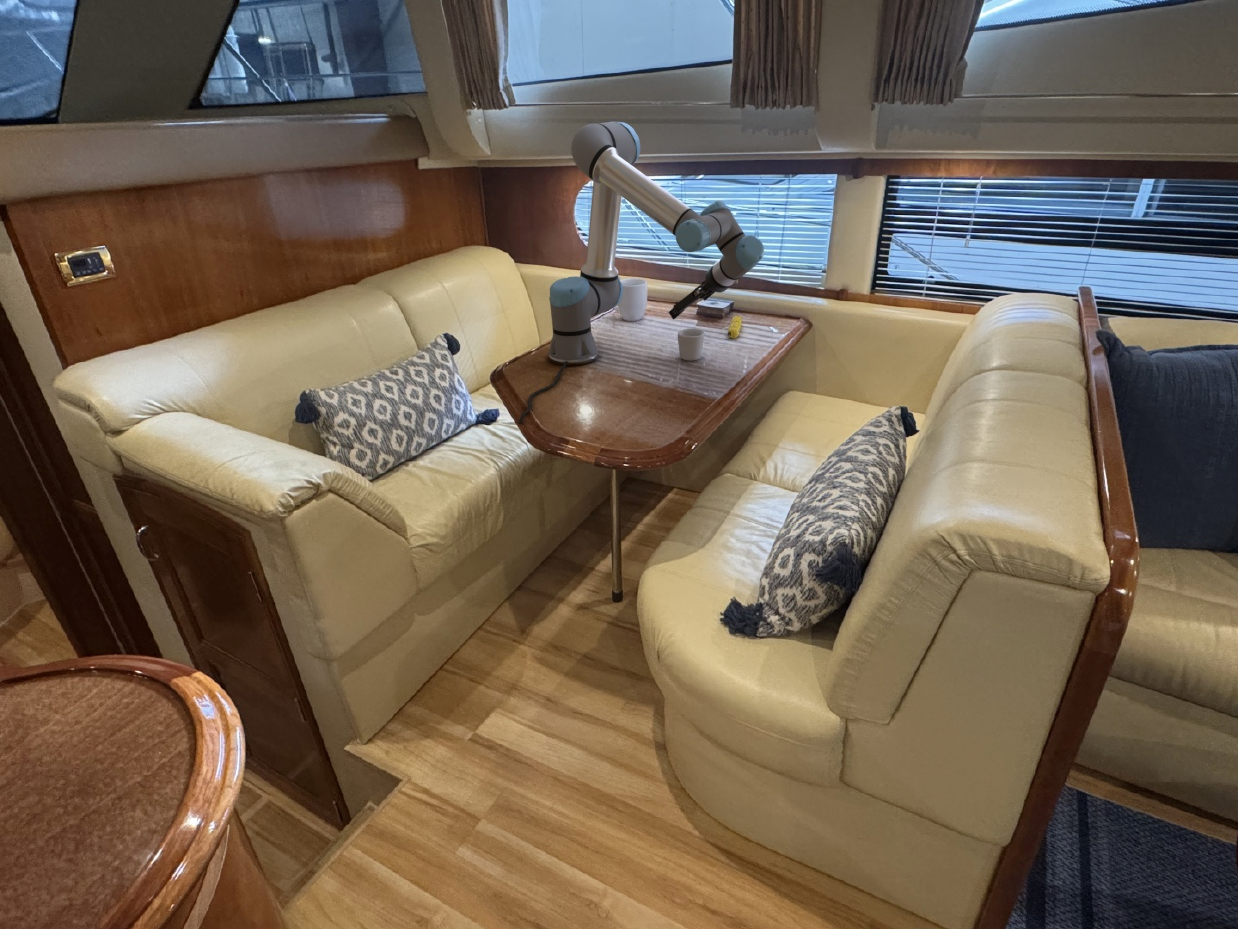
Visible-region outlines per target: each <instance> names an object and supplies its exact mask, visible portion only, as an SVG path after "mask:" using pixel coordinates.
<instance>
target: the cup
mask: <svg viewBox="0 0 1238 929" xmlns="http://www.w3.org/2000/svg"><path fill="white" fill-rule="evenodd" d="M677 341H678V342H677V343H678V353H679V357H680V358H681V359H682V360H683V361H687V362H688V361H691V362H693V361H697V360H699V359H701V357H702V354H703V349H704V341H705V331H703V330H702V329H699V328H685V329H680V330H679V331H678V332H677Z"/></svg>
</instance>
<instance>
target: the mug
mask: <svg viewBox="0 0 1238 929" xmlns="http://www.w3.org/2000/svg"><path fill="white" fill-rule="evenodd" d="M620 282H622V285H623V295H622V298H621V300H620V302H619V303H618V304H617V307H616V306H615V307H613V308H612V309H611V310H614V311H615V312H619V314H620V316H621V317H622V319H623V320H624V321H627V322H635V321H640V320H642V319H643V317H644V315H645V313H646V310H647V306H648V281H647V280H646V279H644V278H636V277H633V278H632V277H631V278H623V279H620Z"/></svg>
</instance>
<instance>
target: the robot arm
mask: <svg viewBox="0 0 1238 929" xmlns="http://www.w3.org/2000/svg"><path fill="white" fill-rule="evenodd" d="M570 146H571V147H570V148H571V156H572V160H573V162H574V164H575V165H576V167H577V169H578V170H580V172H582V174H584V175H585V176H586V177H588V178H589V179H590V180H592V181H593V182H592V193H591V205H590V214H589V215H590V216H589V217H590V218H589V227H588V229H589V230H588V238H587V250H586V261H585V263H584V264H583V265H582V266H581V267H580V272H579V276H578V275H577V276H576V275H575V276H574V275H573V276H567V277H563V278H560V279H557V280H555V281H554V282H553V283H552V284H551V285H550V287H549V296H548V299H549V306H550V316H551V317H550V318H551V325H552V326H551V327H552V337H551V340H550V346H549V350H548V359H549V361H550V362H551V363H553V364H556V365H559V366H561V368H560V369H559V371H558V373H557V375H556V376H555V378H554V381H553V382H551V384H549V385H547V386H545V387H543V388H541V389H539V390H535V392H533V393H532V394H530V396H529V397H528V399H527V404H528V405H527V409H526V410H525V411H523V412H522V413H521V415H520V417H519V421H518V424H519V425H522V424H523V420H524V417H525V415H527V414H528V413H530V411H531V408H532V399H533V398H534V397H535V396H536V395H538V394H540V393H542V392H545V391H547V390H549V389H551V388H553V387H554V386H555V385H556V384H557V382H558V380H560V379H559V378H560V376H561V374H562V373H563V371H564V369H565V367H566V366H568V367H569V366H571V367H573V366H574V367H575V366H582V365H587V364H590V363H593V362H594V361H596V360H598V359H599V348H598V346H597V342H596V341H595V338H594V335H593V333H592V324H591V322H592V320H591V318H594V317H596V316H598V315H601V314H602V313H606V312H609V311H611V310H613V309H612V308H613V307H616V306H618V303H619V302H620V300H621V298H622V295H623V285H622V282H620V280H621V278H620V277H619V276H620V275H619V270H618V269H617V268H616V266H615V262H616V253H617V244H618V237H619V226H620V218H621V211H622V210H621V208H622V199H624V200H626V201H627V202H628V203H630V204H631V205H632V206H634V207H635V208H636V209H637V210H639V211H641V212H642V213H643V214H644V215H646V216H647V217H648V218H650V219H651V220H653V221H654V222H656V223H657V224H658V225H660V226H661V227H662V228H664V229H665V230H666V231H668V232H669V233H670V234H672V235H673V236H675V241H676V243H677V246H678V248H680V249H681V250H682V251H684V252H686V253H695V252H699V251H700V252H701V251H703V250H704V249H706V248H708V247H711V246H714V245H715V246H716V247H717V249H718V250H719V252H720V253H721V255H722V256H721V257H720V258H719V259H717V261H715V263H713V265H712V266H711V267H710V268H708V270H706V273H705V276H704V278H705V280H704V281H702V282H701V284H699V285H698V286H697V287H695V288H694V289H693V290H692V291H691V292H689V293H688V294H687V295H686V296H685V297H683V298H682V299H680V300H679V301H675V302H674V303H675V304H673V306H672V308H671V309H670V310H669V311H668V314H669V315H670V317H671V319H672V321H673V320H675V319H677V318H678V317H679V316H680V315H681V314H682V313H684V312H685V310H686V309H688V308H689V307H690V306H692V305H694V303H696V302H697V301H698V300H703V301H704V302H705V301H707V300H708V299H709V298H710V297H712V296H713V295H714V294H715V293H718V294H719V293H723V292H725V291H727V290H728V289H729V288H731V287H732V285H734V284H735V285H738V283H739V280H740V279H741V278H742V277H744V276H745V275H746V274H747V273H749V272H750V271H751V270H752V269H754V268H755V267H756V265H757V264H758V263H760V262H761V260H762V259H763V258H764V256H765V247H764V244H763V242H762V241H761V240H760V238H759V239H758V237H756V235H753V234H747V235H746V234H745V233H744V231H743V229H742V228H741V226H740V224H739V223H738V222H737V220H736V218H735V217H734V215H733V213H732V211H731V209H730V208H729V207H728V206H727V205H726V204H725V202H724V201H723V200H720V199H719V200H715V201H714V202H712V203H710V204H709V205H708V206H706V207H705V208H704V209H703V210H702V211H701V212H700V213H698V212H696V211H695V210H693V209H692V208H691V207H690V206H688V205H687V204H685V203H684V202H683V201H681V200H680V199H679V198H677V197H676V196H675V195H673V194H671V193H670V192H669V191H668V190H666V189H665V188H663V187H662V186H661V185H659V184H658V183H657V182H655V181H654V180H653V179H651V178H650V177H648V176H647V175H646V174H644V173H643V172H641V171H640V170H639V169H637V168H636V167H635V166H633V165H635V163H636V162H637V161H638V160H639V157H640V155H641V141H640V137H639V135H638V134H637V132H636V131H635V129H634V128H633V127H632V126H631V125H629V123H627V122H622V121H607V122H606V121H605V122H599V123H588V124H586V125H583V126H582V127H580V128H579V129H578V130H577V131H576V133H575V134H574V135H573V138H572V140H571V145H570Z"/></svg>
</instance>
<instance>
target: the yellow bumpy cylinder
mask: <svg viewBox="0 0 1238 929" xmlns="http://www.w3.org/2000/svg"><path fill="white" fill-rule="evenodd" d="M742 323H743V319H742V317H741V316H740V315H734V316H733V317H732V318H731V320H730V323H729V327H728V330H727V333H726V334H727V336H728V337H729V338H731V339H736V338H737V337H738V336H739V334H740V331H741V328H742Z"/></svg>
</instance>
